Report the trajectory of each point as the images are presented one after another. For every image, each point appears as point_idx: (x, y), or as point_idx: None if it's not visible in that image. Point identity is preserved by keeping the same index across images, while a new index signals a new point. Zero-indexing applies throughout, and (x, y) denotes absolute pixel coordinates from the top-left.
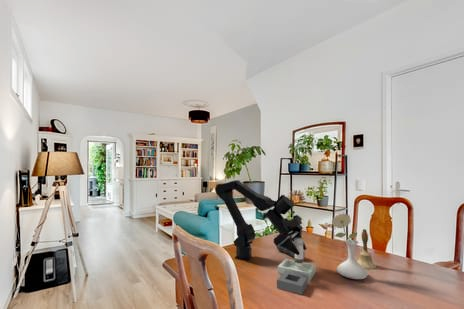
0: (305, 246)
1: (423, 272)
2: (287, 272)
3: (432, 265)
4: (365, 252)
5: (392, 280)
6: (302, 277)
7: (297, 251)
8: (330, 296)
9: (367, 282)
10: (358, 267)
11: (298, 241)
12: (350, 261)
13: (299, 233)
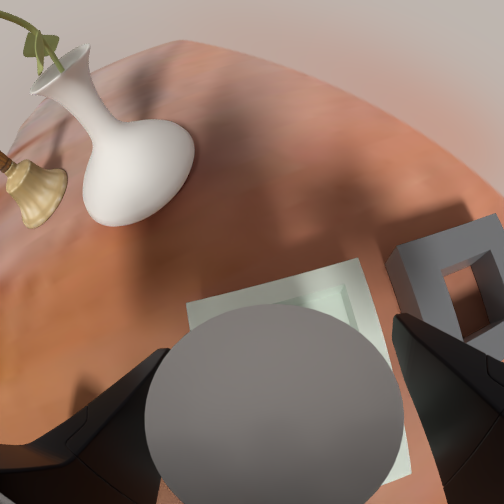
0: (148, 361)
1: (56, 113)
2: None
3: (24, 127)
4: (18, 167)
5: (121, 111)
6: (436, 258)
7: (430, 325)
8: (390, 154)
9: None
10: (141, 120)
11: (379, 368)
12: (125, 130)
13: (20, 480)
